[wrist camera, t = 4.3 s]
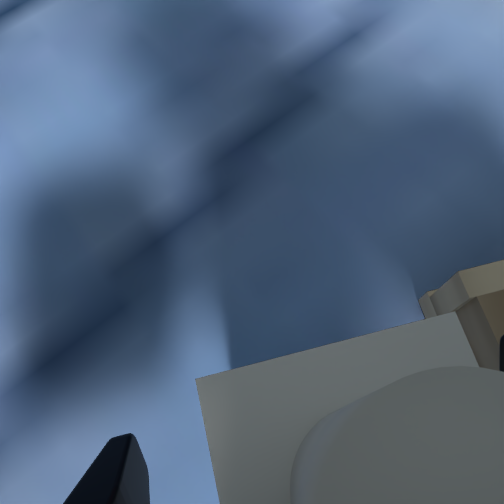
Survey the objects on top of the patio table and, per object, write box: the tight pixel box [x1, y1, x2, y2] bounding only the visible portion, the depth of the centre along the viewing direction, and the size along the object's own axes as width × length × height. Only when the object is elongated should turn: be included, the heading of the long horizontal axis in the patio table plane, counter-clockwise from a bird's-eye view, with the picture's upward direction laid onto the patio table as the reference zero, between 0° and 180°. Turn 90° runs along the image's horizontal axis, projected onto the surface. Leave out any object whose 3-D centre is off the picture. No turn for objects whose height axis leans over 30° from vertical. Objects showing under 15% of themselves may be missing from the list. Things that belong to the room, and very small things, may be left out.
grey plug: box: [195, 311, 504, 504], centre depth 9 cm, size 4×4×12 cm
